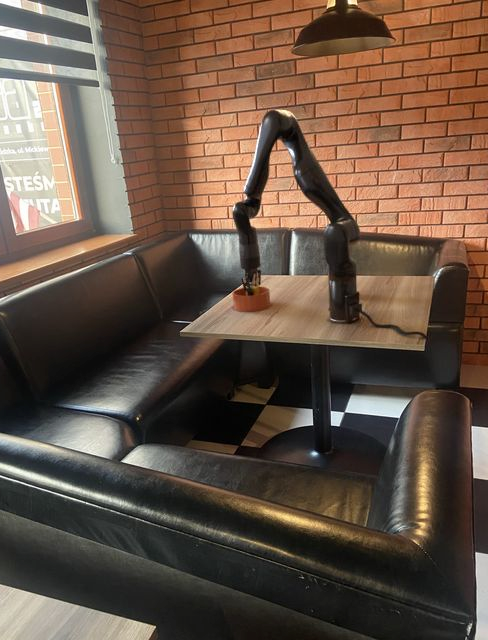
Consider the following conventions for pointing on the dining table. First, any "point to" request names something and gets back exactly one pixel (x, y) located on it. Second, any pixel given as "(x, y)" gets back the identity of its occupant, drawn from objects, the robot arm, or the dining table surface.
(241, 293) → the crock
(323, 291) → the dining table surface
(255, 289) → the sponge
